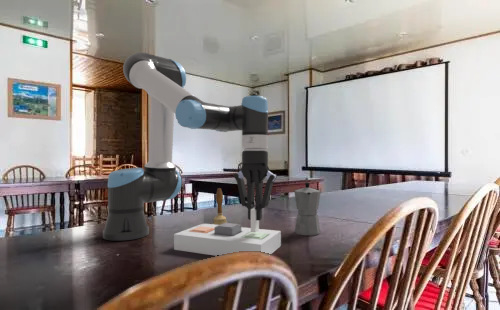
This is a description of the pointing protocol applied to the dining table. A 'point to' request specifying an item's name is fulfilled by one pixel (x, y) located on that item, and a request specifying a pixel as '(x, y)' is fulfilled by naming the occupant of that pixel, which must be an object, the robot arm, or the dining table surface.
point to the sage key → (255, 235)
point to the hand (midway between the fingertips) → (254, 231)
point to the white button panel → (225, 241)
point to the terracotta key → (202, 229)
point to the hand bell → (219, 209)
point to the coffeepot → (307, 211)
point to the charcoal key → (228, 229)
